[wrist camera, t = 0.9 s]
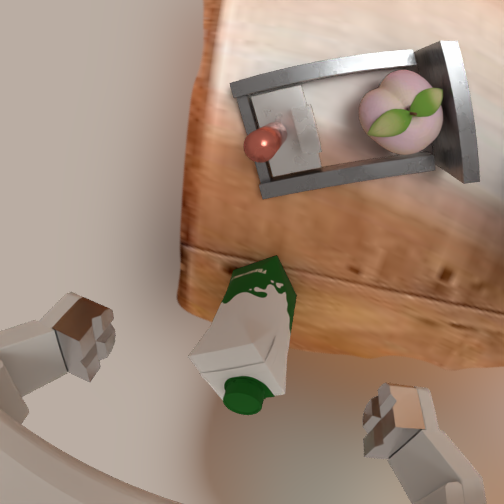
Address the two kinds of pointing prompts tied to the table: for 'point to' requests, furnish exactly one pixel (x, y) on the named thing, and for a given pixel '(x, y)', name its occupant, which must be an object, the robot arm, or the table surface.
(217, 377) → the milk carton
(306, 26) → the table surface
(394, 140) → the decorative fruit
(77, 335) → the robot arm
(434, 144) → the press base
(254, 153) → the handle
